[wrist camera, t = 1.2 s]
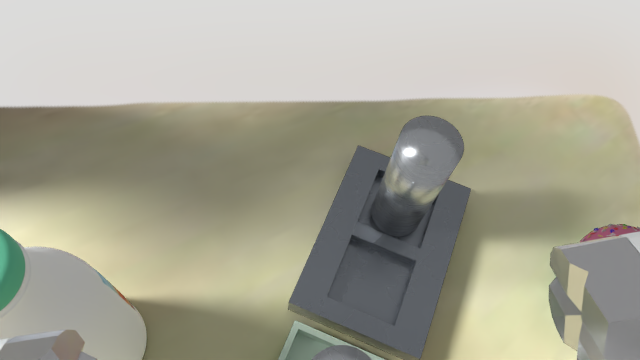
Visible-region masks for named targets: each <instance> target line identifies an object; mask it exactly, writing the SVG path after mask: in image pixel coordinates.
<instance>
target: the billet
mask: <svg viewBox="0 0 640 360" xmlns="http://www.w3.org/2000/svg"><path fill="white" fill-rule="evenodd" d="M312 360H372V359H371V358H370V357H369V356H368V355H367V354H366V353H364V352H363V351H361V350H359V349H357V348H355V347H352V346H348V345H335V346H331V347H328V348H326V349H324V350H322V351H320V352H319V353H318V354H316V355H315V356H314V357H313V358H312Z"/></svg>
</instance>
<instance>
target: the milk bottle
mask: <svg viewBox="0 0 640 360" xmlns="http://www.w3.org/2000/svg"><path fill="white" fill-rule="evenodd" d="M65 329H67V330H76V331H77V333H78V334H79V335H80V336H81V338H82V339H83V340H84V342H85V344H84V348H83V352H84V353H86V354H88V355H90V356H92V357H94V358H96V359H97V360H142V358H143V356H144V353H145V349H146V343H147V332H146V327H145V323H144V320H143V318H142V316H141V315H140V313H139V312H138V311H137V309H136V308H135V307H134V306H133V305H132V304H131V303H130V302H129V301H128V300H127V299H126V298H125V297H124V296H123V295H122V294H121V293H120V292H119V291H118V290H117V289H116V288H115V287H114V286H113V285H112V284H111V283H109V282H108V281H107V280H106V279H105V278H104V277H103V276H102V275H101V274H100V273H99V272H97V271H96V270H95V269H94V268H92V267H91V266H90V265H89V264H87V263H86V262H85V261H83V260H82V259H80V258H78V257H76V256H74V255H72V254H70V253H68V252H65V251H62V250H58V249H54V248H47V247H23V246H22V245H21V244H20V243H18V242H17V241H15V240H14V239H13V238H12V237H11V236H10V235H8V234H7V233H6V232H4V231H3V230H1V229H0V339H6V338H14V337H16V336H23V335H30V334H37V333H44V332H51V331H58V330H65Z"/></svg>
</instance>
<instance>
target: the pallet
mask: <svg viewBox="0 0 640 360" xmlns="http://www.w3.org/2000/svg"><path fill="white" fill-rule="evenodd" d="M389 161H390V157H387V156H385V155H382V154H380V153H377V152H374V151H372V150H369V149H367V148H364V147H361V146H359V145H358V147H357V150H356V152H355V154H354V156H353V159H352V161H351V163H350V165H349V168H348V170H347V172H346V174H345V177H344V179H343V181H342V183H341V186H340V188H339V190H338V192H337V195H336V197H335V199H334V201H333V204H332V206H331V208H330V210H329V213H328V215H327V217H326V219H325V222H324V224H323V226H322V228H321V231H320V233H319V235H318V237H317V240H316V242H315V244H314V246H313V249H312V251H311V253H310V255H309V258H308V260H307V262H306V264H305V267H304V269H303V271H302V273H301V276H300V278H299V280H298V282H297V285H296V287H295V289H294V291H293V294H292V296H291V298H290V300H289V304H288V310H291V311H293V312H295V313H298V314H300V315H302V316H304V317H307V318H309V319H311V320H314V321H316V322H318V323H321V324H323V325H325V326H327V327H330V328H332V329H334V330H337V331H339V332H341V333H344V334H346V335H348V336H350V337H353V338H355V339H357V340H360V341H362V342H364V343H367V344H369V345H371V346H373V347H376V348H378V349H380V350H383V351H385V352H387V353H390V354H392V355H394V356H396V357H399V358H401V359H403V360H420V358H421V355H422V352H423V348H424V345H425V342H426V338H427V335H428V331H429V328H430V325H431V321H432V318H433V315H434V311H435V308H436V305H437V301H438V298H439V295H440V291H441V288H442V285H443V281H444V278H445V275H446V271H447V268H448V265H449V261H450V258H451V254H452V251H453V248H454V244H455V241H456V238H457V234H458V231H459V228H460V224H461V221H462V218H463V214H464V211H465V208H466V204H467V201H468V198H469V194H470V191H471V189H470V188H468V187H465V186H462V185H460V184H457V183H455V182H452V181H449V180H447V181H446V183H445V184H444V186H443V188H442V189H441V191H440V192H439V194H438V195H437V197H436V199H435V200H434V202H433V203H432V205H431V206H430V208H429V209H428V211H427V213H426V214H425V216H424V217H423V219H422V220H421V222H420V224H419V225H418V227H417V228H416V229H415V230H414V231H413V232H412V233H410V234H408V235H405V236H392V235H389V234H387V233H385V232H383V231H382V230H380V229H379V228H378V227H377V225H376V224H375V222H374V220H373V218H372V213H371V209H372V205H373V202H374V199H375V197H376V194H377V192H378V189H379V186H380V184H381V181H382V179H383V176H384V174H385V171H386V169H387V166H388V164H389Z"/></svg>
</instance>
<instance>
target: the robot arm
mask: <svg viewBox="0 0 640 360" xmlns="http://www.w3.org/2000/svg"><path fill="white" fill-rule="evenodd" d="M550 266H551V268H552V270H553V272H554V273H555V275H556V278H555V279H554V280H553V281H552V283H551V284H550V285H549V303H550V308H551V313H552V318H553V320H554V323H555V326H556V328H557V330H558V332H559V334H560V336H561V338H562V340H563V342H564V343H565V344H567V345H568V346H570V347H571V348H573V349H575V350H576V351H578V352H577V360H640V231H639V232H634V233H628V234H623V235H619V236H612V237H607V238H601V239H595V240H590V241H584V242H578V243H573V244H567V245H562V246H556V247H553V250H552V252H551V256H550ZM84 344H85V342H84V340H83V339H82V338H81V336H80V335H79V334H78V333H77V331H76V330H67V329H65V330H58V331H51V332H44V333H37V334H30V335H23V336H16V337H14V338H6V339H0V360H97V359H96V358H94V357H92V356H90V355H88V354H86V353H84V352H83V348H84Z"/></svg>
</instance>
